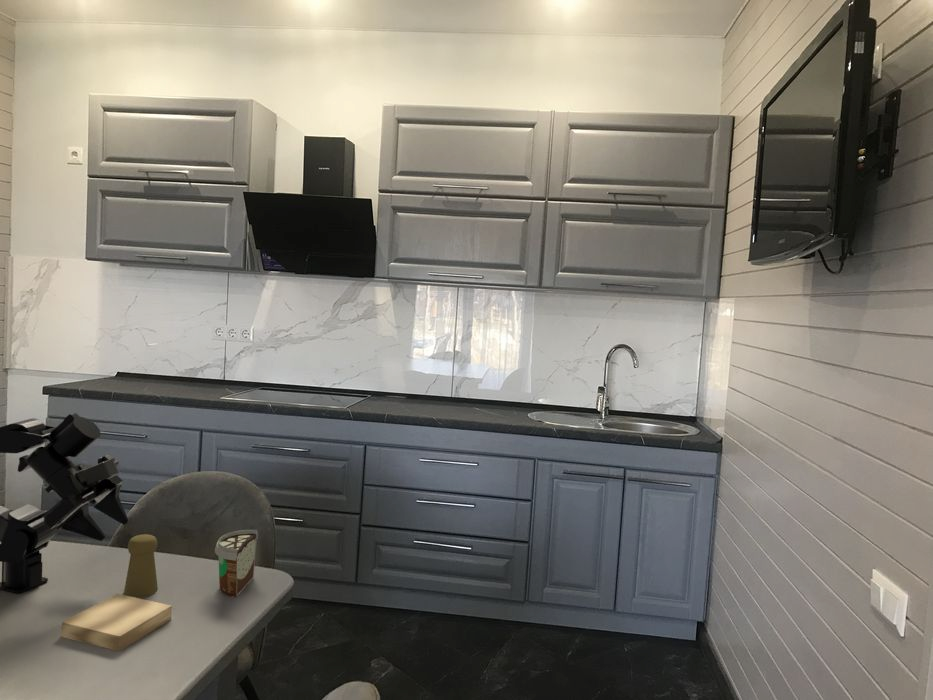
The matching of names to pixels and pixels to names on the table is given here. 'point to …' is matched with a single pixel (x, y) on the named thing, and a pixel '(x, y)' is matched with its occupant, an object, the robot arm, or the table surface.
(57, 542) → the table surface
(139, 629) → the oak board
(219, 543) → the food container
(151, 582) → the cork
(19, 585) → the robot arm
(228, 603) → the table surface
